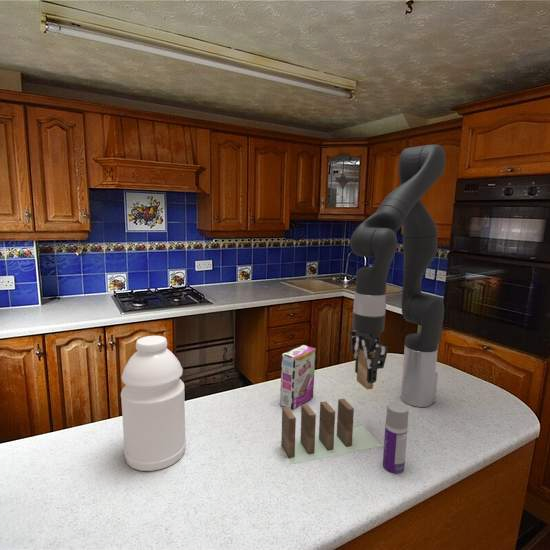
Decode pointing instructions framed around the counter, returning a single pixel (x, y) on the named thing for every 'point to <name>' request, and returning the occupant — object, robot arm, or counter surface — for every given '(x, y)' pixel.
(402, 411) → the container
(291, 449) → the domino
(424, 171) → the robot arm
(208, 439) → the counter surface
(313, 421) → the domino
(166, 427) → the bottle
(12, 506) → the counter surface
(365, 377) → the domino
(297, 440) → the mat
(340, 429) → the domino
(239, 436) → the counter surface
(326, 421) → the domino
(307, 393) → the candy bar box
